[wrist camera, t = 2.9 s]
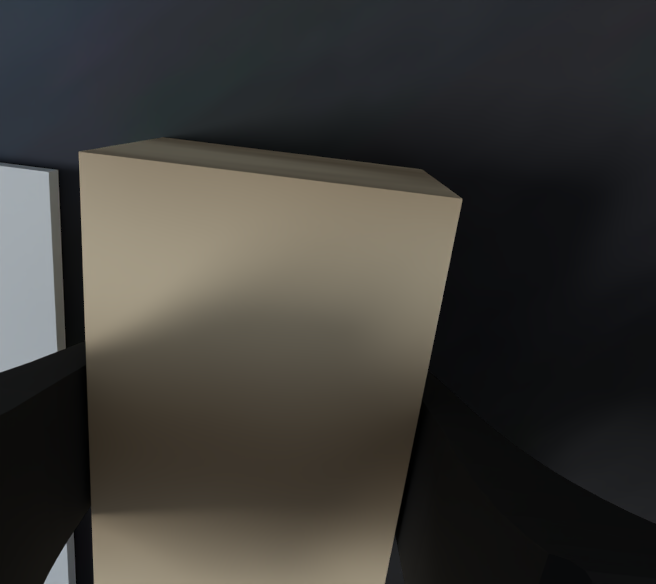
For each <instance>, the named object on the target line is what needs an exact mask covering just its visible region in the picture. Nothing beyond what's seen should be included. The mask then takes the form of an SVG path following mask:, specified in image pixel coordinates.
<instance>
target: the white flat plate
mask: <svg viewBox="0 0 656 584" xmlns="http://www.w3.org/2000/svg"><path fill="white" fill-rule="evenodd" d="M63 349H66V341H65V318H64V295H63V272H62V248H61V225H60V202H59V178H58V170H55V169H47V168H40V167H32V166H24V165H16V164H8V163H0V372H3V371H6V370H9V369H12V368H15V367H18V366H20V365H23V364H26V363H29V362H32V361H34V360H37V359H40V358H42V357H45V356H47V355H50V354H53V353H55V352H58V351H60V350H63ZM44 584H76V574H75V551H74V532H73V534H72V535H71V537H70V538H69V540H68V541H67V543H66V545H65V546H64V548H63V550H62V551H61V553H60V555H59V556H58V558H57V560H56V562H55V563H54V565H53V567H52V569H51V570H50V572H49V574H48V576H47V578H46V580H45V582H44Z"/></svg>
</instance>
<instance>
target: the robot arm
mask: <svg viewBox="0 0 656 584" xmlns="http://www.w3.org/2000/svg"><path fill="white" fill-rule="evenodd" d="M90 506H91V484H90V455H89V427H88V399H87V370H86V342H85V341H84V342H81V343H79V344H76V345H73V346H71V347H68V348H66V349H63V350H60V351H58V352H55V353H53V354H50V355H47V356H45V357H42V358H40V359H37V360H34V361H32V362H29V363H26V364H23V365H20V366H18V367H15V368H12V369H9V370H6V371H3V372H0V584H44V582H45V580H46V578H47V576H48V574H49V572H50V570H51V569H52V567H53V565H54V563H55V562H56V560H57V558H58V556H59V555H60V553H61V551H62V550H63V548H64V546H65V545H66V543H67V541H68V540H69V538H70V537H71V535H72V534H73V532H74V531H75V529H76V527H77V526H78V524H79V523H80V521H81V520H82V518H83V517H84V515H85V513H86V512H87V510H88V509H89V507H90ZM395 535H396V540H397V545H398V551H399V556H400V561H401V566H402V571H403V577H404V582H405V584H656V524H655V523H652V522H650V521H648V520H646V519H643V518H641V517H639V516H637V515H635V514H632V513H630V512H628V511H626V510H624V509H622V508H620V507H618V506H616V505H614V504H612V503H610V502H608V501H606V500H604V499H602V498H600V497H598V496H596V495H594V494H593V493H591V492H589V491H587V490H585V489H583V488H582V487H580V486H578V485H576V484H574V483H572V482H571V481H569V480H567V479H566V478H564V477H562V476H561V475H559V474H557V473H555V472H554V471H552V470H551V469H549V468H548V467H546V466H545V465H543V464H542V463H540V462H539V461H537V460H535V459H534V458H532V457H531V456H529V455H528V454H526V453H525V452H524V451H522V450H521V449H519V448H518V447H517V446H515V445H514V444H512V443H511V442H510V441H509V440H507V439H506V438H505V437H503V436H502V435H501V434H500V433H498V432H497V431H496V430H495V429H493V428H492V427H491V426H490V425H488V424H487V423H486V422H485V421H484V420H482V419H481V418H480V417H479V416H478V415H477V414H475V413H474V412H473V411H472V410H471V409H470V408H469V407H468V406H466V405H465V404H464V403H463V402H462V401H461V400H460V399H459V398H458V397H457V396H455V395H454V394H453V393H452V392H451V391H450V390H449V389H448V388H447V387H446V386H445V385H444V384H442V383H441V382H440V381H439V380H438V379H437V378H436V377H435V376H433V375H432V374H431V373H430V372H427V377H426V382H425V387H424V392H423V397H422V402H421V407H420V411H419V416H418V421H417V426H416V431H415V436H414V441H413V446H412V451H411V456H410V461H409V466H408V471H407V476H406V481H405V485H404V490H403V495H402V500H401V505H400V510H399V515H398V520H397V525H396V530H395Z"/></svg>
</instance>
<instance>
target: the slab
mask: <svg viewBox="0 0 656 584" xmlns="http://www.w3.org/2000/svg"><path fill="white" fill-rule="evenodd" d="M79 172H80V200H81V229H82V257H83V285H84V314H85V342H86V370H87V399H88V427H89V455H90V484H91V512H92V540H93V569H94V584H385V579H386V574H387V569H388V564H389V559H390V555H391V550H392V545H393V540H394V535H395V530H396V525H397V520H398V515H399V510H400V505H401V500H402V495H403V490H404V485H405V481H406V476H407V471H408V466H409V461H410V456H411V451H412V446H413V441H414V436H415V431H416V426H417V421H418V416H419V411H420V407H421V402H422V397H423V392H424V387H425V382H426V377H427V372H428V367H429V362H430V357H431V352H432V347H433V342H434V337H435V333H436V328H437V323H438V318H439V313H440V308H441V303H442V298H443V293H444V288H445V283H446V278H447V273H448V268H449V263H450V259H451V254H452V249H453V244H454V239H455V234H456V229H457V224H458V219H459V214H460V209H461V204H462V198H461V197H459V196H458V195H457V194H455V193H454V192H452V191H451V190H450V189H448V188H447V187H446V186H444V185H443V184H441V183H440V182H439V181H437V180H436V179H435V178H433V177H432V176H430V175H429V174H428V173H426V172H425V171H424V170H422V169H415V168H407V167H399V166H391V165H383V164H375V163H367V162H358V161H350V160H342V159H334V158H326V157H318V156H310V155H302V154H294V153H286V152H278V151H270V150H262V149H253V148H245V147H237V146H229V145H221V144H213V143H205V142H197V141H189V140H181V139H173V138H165V137H163V138H157V139H151V140H145V141H139V142H133V143H127V144H121V145H115V146H109V147H103V148H98V149H92V150H86V151H80V152H79Z"/></svg>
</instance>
